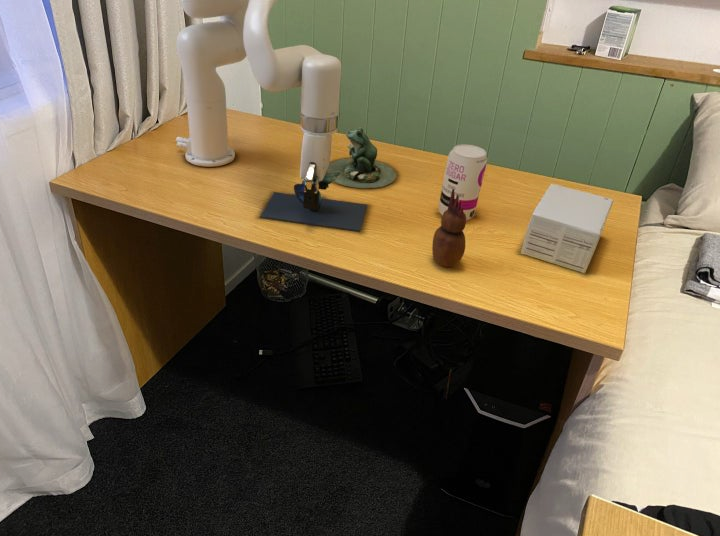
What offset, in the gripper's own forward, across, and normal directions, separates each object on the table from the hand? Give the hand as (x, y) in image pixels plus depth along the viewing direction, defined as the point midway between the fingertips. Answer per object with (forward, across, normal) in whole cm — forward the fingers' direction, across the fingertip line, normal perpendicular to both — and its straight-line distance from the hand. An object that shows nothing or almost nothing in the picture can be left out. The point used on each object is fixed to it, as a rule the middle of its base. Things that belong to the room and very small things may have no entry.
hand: (315, 198), depth 125 cm
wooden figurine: (+3, +13, +29) cm, 32 cm away
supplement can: (+3, -8, +31) cm, 32 cm away
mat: (+3, 0, 0) cm, 3 cm away
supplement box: (+3, 0, +53) cm, 53 cm away
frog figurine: (+3, -23, +7) cm, 24 cm away
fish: (+3, 0, 0) cm, 3 cm away
